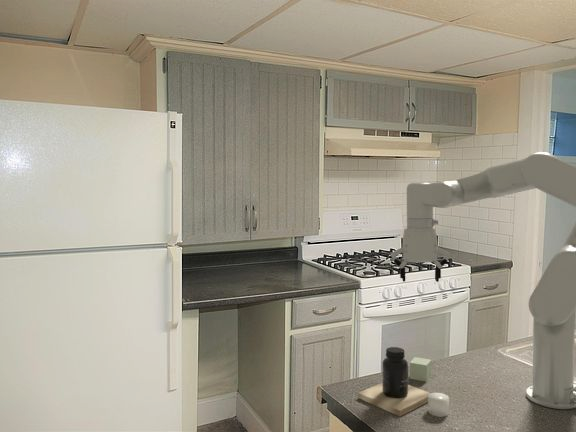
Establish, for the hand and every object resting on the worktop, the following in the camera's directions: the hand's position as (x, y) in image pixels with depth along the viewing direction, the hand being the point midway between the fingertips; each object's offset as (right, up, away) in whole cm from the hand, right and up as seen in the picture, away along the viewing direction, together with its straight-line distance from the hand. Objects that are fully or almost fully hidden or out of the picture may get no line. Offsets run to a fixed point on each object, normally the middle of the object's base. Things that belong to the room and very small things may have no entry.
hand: (420, 280), depth 147 cm
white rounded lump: (-2, -30, -23) cm, 38 cm away
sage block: (0, -29, -1) cm, 29 cm away
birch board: (-11, -30, -15) cm, 35 cm away
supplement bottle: (-11, -29, -15) cm, 34 cm away
